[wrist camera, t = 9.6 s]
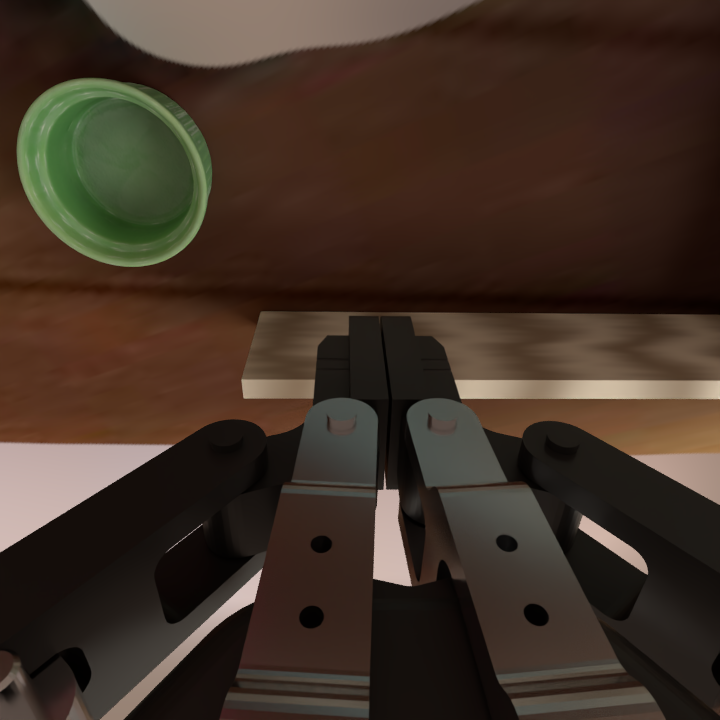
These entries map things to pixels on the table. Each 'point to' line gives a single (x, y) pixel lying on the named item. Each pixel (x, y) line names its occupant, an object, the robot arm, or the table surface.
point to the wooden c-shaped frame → (515, 354)
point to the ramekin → (115, 170)
